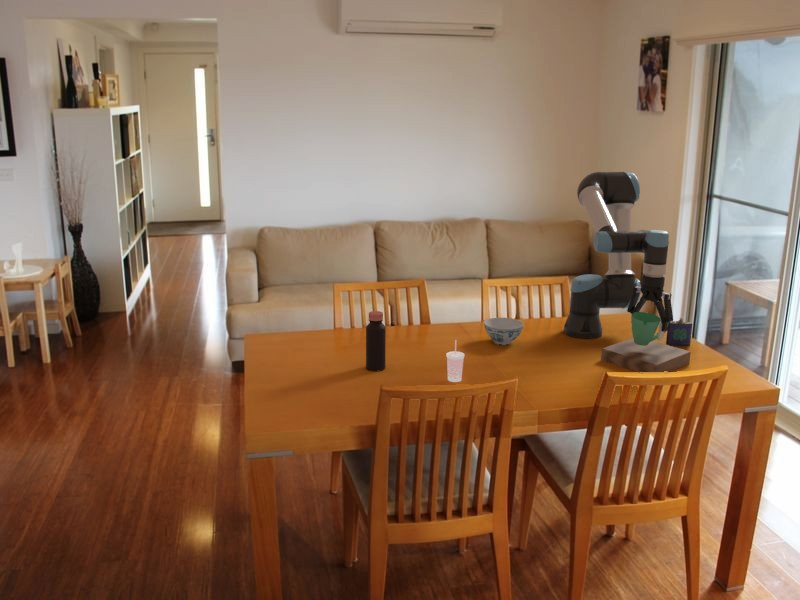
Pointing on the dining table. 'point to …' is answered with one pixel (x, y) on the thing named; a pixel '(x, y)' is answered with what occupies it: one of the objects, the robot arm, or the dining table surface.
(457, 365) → the beverage cup
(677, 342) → the flask
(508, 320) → the chinaware
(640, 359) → the walnut box
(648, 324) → the mug
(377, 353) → the bottle
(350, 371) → the dining table surface
